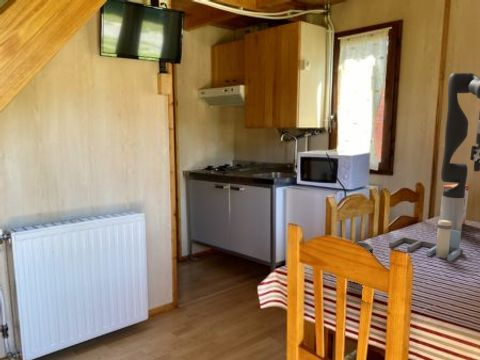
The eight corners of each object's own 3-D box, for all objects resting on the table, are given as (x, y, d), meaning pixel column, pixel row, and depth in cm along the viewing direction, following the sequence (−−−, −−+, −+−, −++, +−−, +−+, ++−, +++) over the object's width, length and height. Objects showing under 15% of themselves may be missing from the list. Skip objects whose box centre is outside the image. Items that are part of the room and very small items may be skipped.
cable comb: (400, 240, 173) (402, 220, 172) (463, 253, 156) (465, 232, 154) (387, 246, 164) (388, 225, 163) (452, 261, 146) (454, 238, 145)
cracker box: (449, 227, 197) (452, 186, 194) (438, 224, 202) (441, 185, 199) (466, 224, 203) (469, 185, 200) (455, 221, 209) (458, 183, 206)
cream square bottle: (432, 254, 155) (435, 220, 153) (443, 253, 155) (446, 219, 154) (440, 258, 150) (443, 223, 148) (451, 257, 151) (454, 222, 149)
